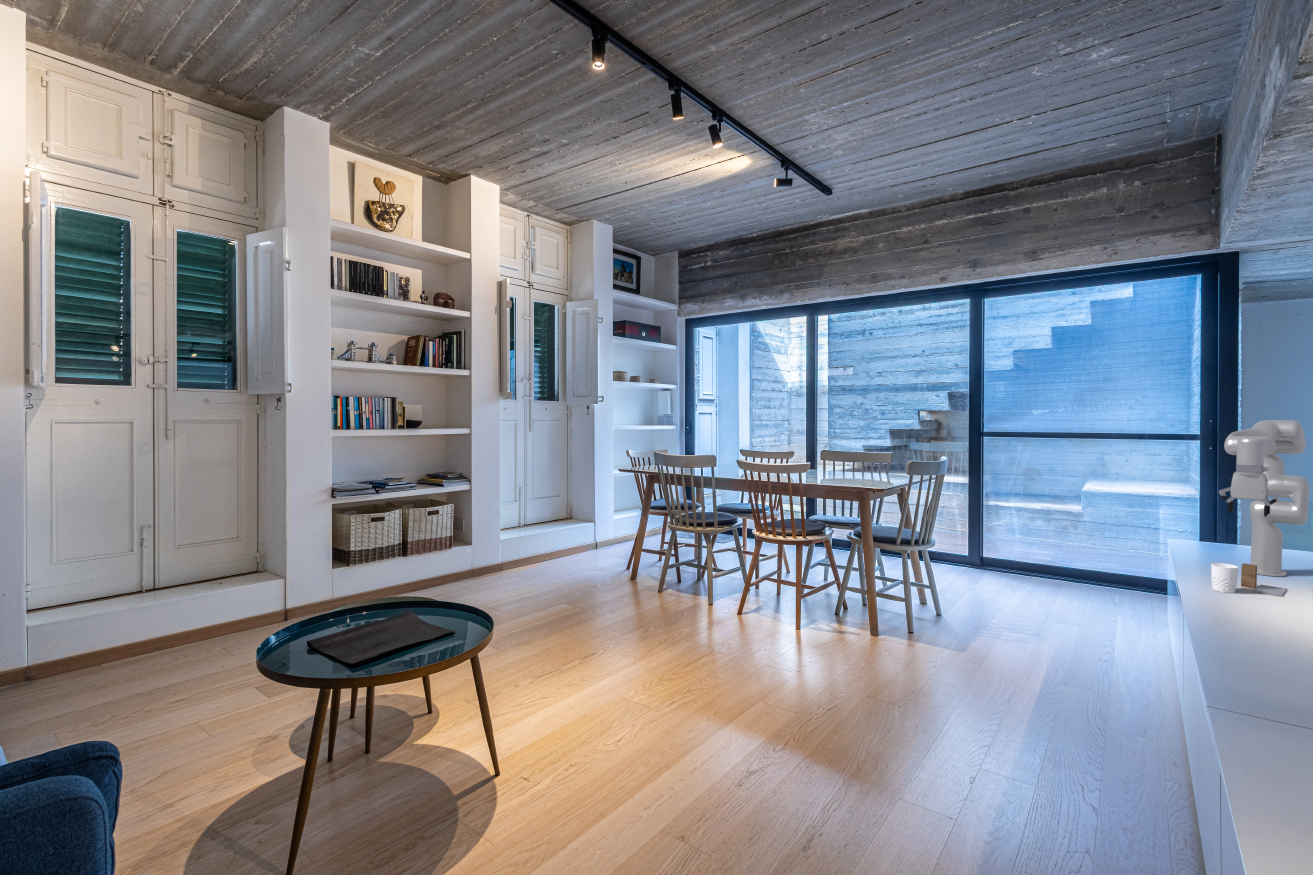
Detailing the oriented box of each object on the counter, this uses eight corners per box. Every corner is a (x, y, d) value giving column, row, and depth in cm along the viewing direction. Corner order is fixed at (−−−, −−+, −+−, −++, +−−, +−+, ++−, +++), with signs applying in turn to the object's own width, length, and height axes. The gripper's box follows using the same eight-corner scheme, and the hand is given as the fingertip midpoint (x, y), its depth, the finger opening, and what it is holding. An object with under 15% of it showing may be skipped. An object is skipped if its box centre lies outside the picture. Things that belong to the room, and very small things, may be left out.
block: (1242, 585, 248) (1243, 563, 248) (1256, 587, 245) (1257, 565, 245) (1240, 587, 246) (1241, 564, 245) (1254, 589, 243) (1255, 566, 242)
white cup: (1226, 587, 245) (1227, 562, 245) (1243, 593, 237) (1244, 568, 237) (1204, 587, 246) (1205, 562, 245) (1220, 593, 238) (1221, 567, 237)
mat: (1260, 585, 248) (1260, 584, 248) (1286, 589, 242) (1286, 588, 242) (1254, 592, 239) (1254, 591, 239) (1281, 596, 233) (1281, 595, 233)
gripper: (1282, 470, 232) (1281, 516, 233) (1221, 467, 245) (1219, 510, 246) (1280, 472, 227) (1278, 518, 228) (1217, 468, 241) (1216, 512, 241)
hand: (1248, 514), depth 237 cm, fingers open, 9 cm apart
